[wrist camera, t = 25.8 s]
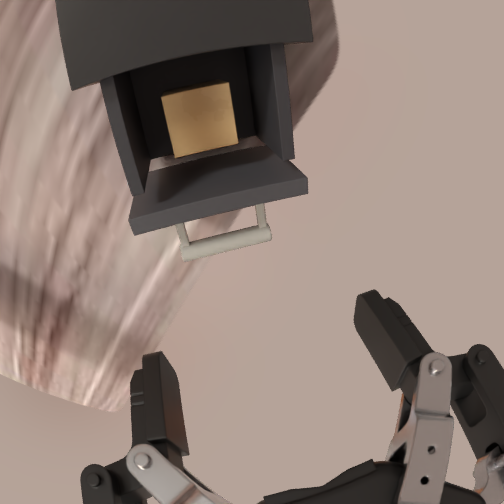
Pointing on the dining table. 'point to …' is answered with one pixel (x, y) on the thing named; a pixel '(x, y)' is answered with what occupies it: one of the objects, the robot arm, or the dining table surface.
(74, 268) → the dining table surface
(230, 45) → the dark grey box
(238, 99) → the drawer
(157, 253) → the dining table surface
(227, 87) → the block
